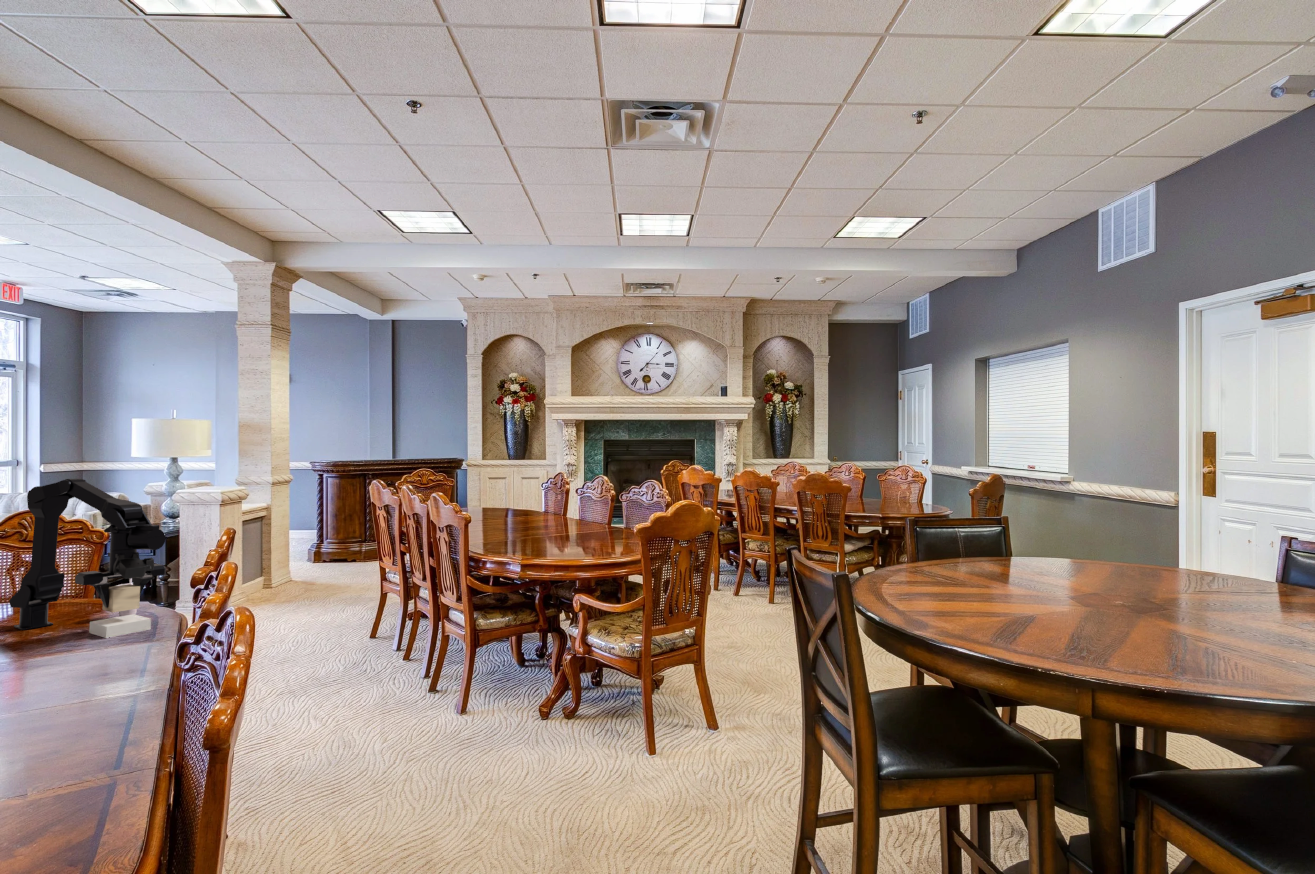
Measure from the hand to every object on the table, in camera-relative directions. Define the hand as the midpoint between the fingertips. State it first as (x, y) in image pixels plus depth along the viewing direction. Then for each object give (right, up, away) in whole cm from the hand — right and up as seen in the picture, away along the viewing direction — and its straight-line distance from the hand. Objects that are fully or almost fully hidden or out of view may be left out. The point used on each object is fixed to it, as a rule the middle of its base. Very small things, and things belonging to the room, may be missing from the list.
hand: (121, 605), depth 175 cm
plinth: (0, -7, 0) cm, 7 cm away
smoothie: (-10, -8, +14) cm, 19 cm away
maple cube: (0, -1, 0) cm, 1 cm away
